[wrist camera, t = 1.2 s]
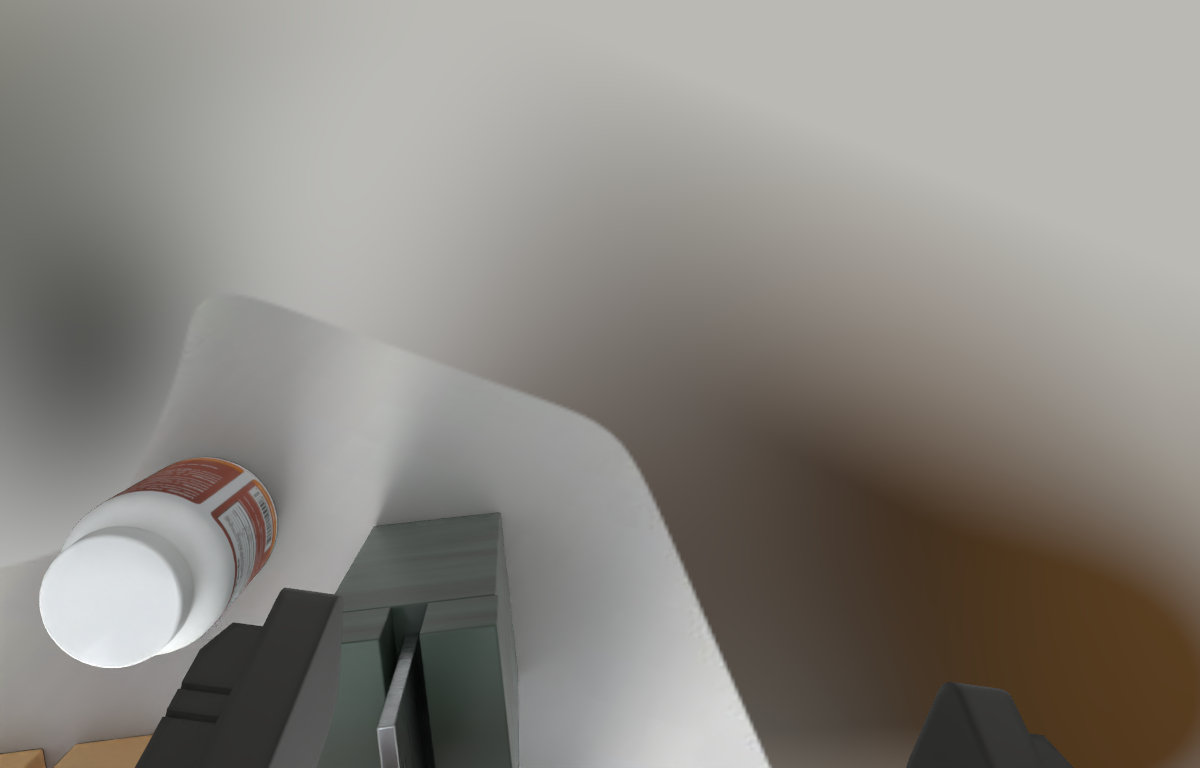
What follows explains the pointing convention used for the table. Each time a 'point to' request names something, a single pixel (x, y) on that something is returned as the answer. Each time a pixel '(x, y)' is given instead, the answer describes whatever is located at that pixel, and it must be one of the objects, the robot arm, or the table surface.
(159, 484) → the pill bottle
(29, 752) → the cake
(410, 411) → the table surface
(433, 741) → the knife block
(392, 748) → the brown-handled kitchen knife
